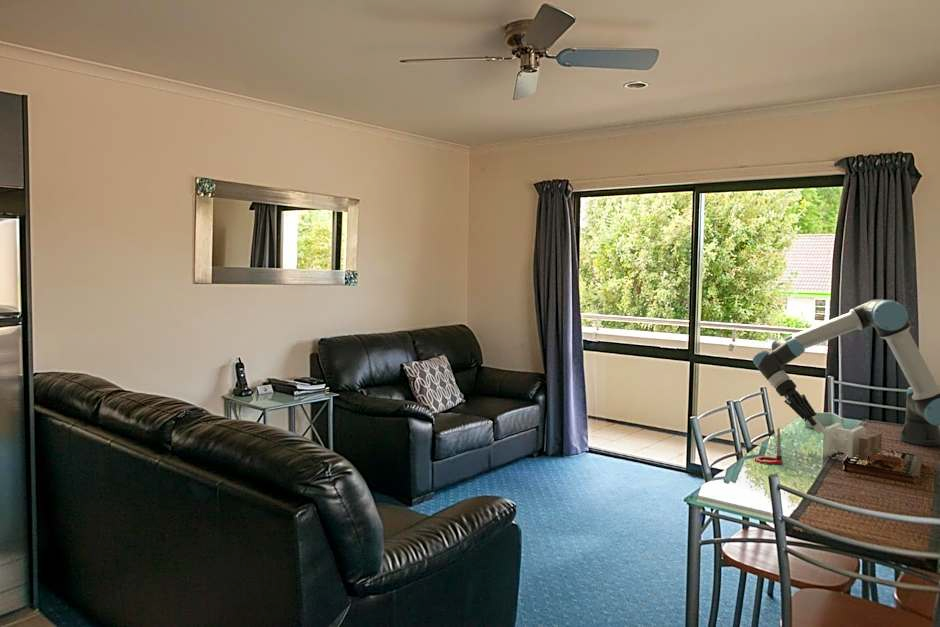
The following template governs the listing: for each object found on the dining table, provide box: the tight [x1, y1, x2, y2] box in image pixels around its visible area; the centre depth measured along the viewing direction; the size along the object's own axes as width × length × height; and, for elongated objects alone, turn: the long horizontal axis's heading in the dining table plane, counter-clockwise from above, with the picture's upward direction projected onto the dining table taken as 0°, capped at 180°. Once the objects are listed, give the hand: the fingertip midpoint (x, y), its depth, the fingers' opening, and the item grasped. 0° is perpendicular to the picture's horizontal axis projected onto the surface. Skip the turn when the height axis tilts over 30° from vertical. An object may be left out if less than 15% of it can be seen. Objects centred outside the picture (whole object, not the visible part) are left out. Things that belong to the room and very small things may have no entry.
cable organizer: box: [822, 423, 866, 458], centre depth 264 cm, size 15×11×12 cm
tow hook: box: [754, 427, 783, 465], centre depth 256 cm, size 8×13×9 cm
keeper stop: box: [858, 432, 883, 460], centre depth 260 cm, size 14×13×10 cm
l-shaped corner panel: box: [804, 411, 845, 432], centre depth 306 cm, size 12×12×8 cm
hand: (822, 431), depth 270 cm, fingers closed
